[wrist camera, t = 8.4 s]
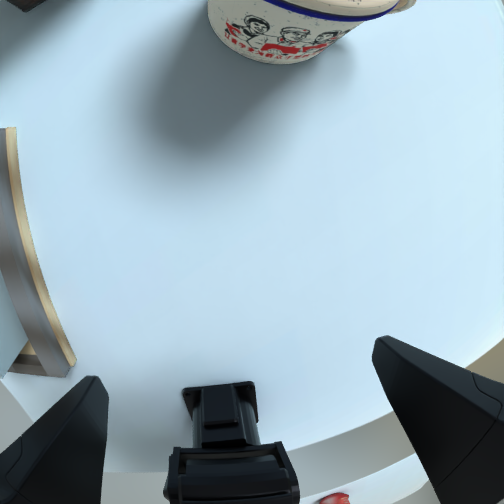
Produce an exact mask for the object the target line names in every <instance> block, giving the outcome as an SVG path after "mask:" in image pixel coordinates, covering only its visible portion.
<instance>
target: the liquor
mask: <svg viewBox="0 0 504 504" xmlns="http://www.w3.org/2000/svg"><path fill="white" fill-rule="evenodd" d="M348 498H349V495H347V494H344V493H334V494H331V495H329V496H326V497H324V498H323V499H322V500H321V502H320V503H319V504H350V503H349V500H348Z"/></svg>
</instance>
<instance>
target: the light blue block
mask: <svg viewBox="0 0 504 504" xmlns="http://www.w3.org/2000/svg"><path fill="white" fill-rule="evenodd" d="M28 340H29V339H28V337H27V335H26V333H25V331H24V329H23V327H22V324H21V322H20V320H19V318H18V315H17V313H16V311H15V308H14V306H13V303H12V301H11V298H10V296H9V293H8V290H7V288H6V285H5V282H4V279H3V276H2V273H1V270H0V378H2V379H3V377H4V376H5V374H6V373H7V371H8V369H9V368H10V366H11V365H12V363H13V362H14V360H15V359H16V357H17V356H18V354H19V353H20V351H21V350H22V348H23V347H24V346H25V344H26V343H27V341H28Z"/></svg>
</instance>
